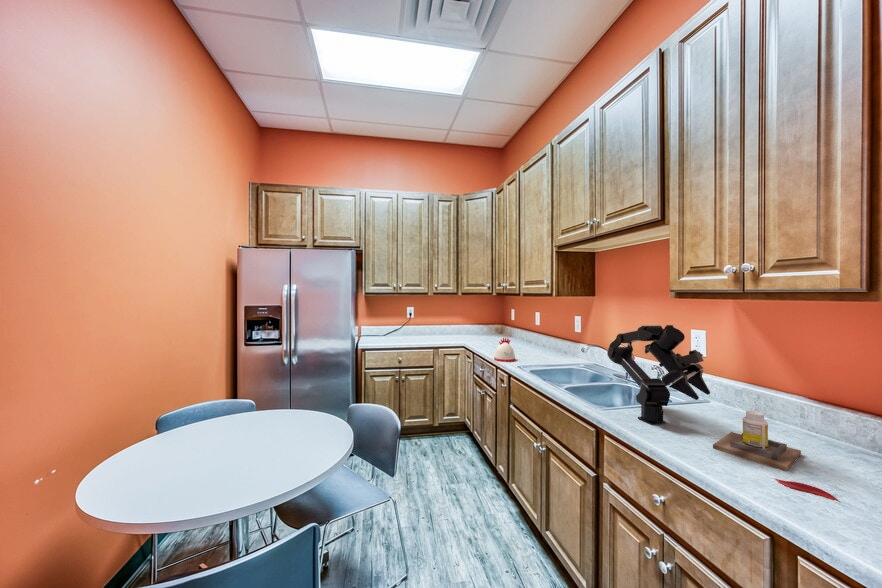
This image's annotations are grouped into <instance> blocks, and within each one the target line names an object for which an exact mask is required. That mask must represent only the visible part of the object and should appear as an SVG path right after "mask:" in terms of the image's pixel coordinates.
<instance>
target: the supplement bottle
mask: <svg viewBox="0 0 882 588" xmlns="http://www.w3.org/2000/svg"><path fill="white" fill-rule="evenodd" d="M742 433H743V444H745V445H748V446H752V447H755V448H759V449H762V450H767V449H768V440H769V423H768V421H767V420H766V419H765V414H764V413H763V412H761V411H756V410H746V411H745V416H743V417H742Z"/></svg>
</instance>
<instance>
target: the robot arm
mask: <svg viewBox="0 0 882 588" xmlns="http://www.w3.org/2000/svg"><path fill="white" fill-rule="evenodd" d="M685 337H686V336H685V334H684V332H682V331H681V330H680V329H678V328H676V327H674V325H673V324H666V325H665V327H664V328H663V326H662V325H660V324H659V325H641V326H639V327H638V328H637V330H633V331H628V332H625V333H623V332H622V333H618V334H617V335H616V338H615V339H614V340H613V341H612V342H610V344H609V345H608V349H607V351H606V352H607V357H608V358H609V360H610V361H611V362H612V363H614V364H617V365H620V366H621V367H622V369H624V371H625V372H626V373H627V374H628V375H629V376H630V377H631V378H632V379H633V381H634V382H635V383H636V385H638V387H639V391H638V393H637V394H636V396H635V399H636V403H638V404H640V405H641V409H640V411H641V413H640V416H637V419H638V420H641V421H642V422H645V423H647V424H649V425H661V424H666V423H667V420H666V421H665V420H664V406H665V407H667V406H668V404H669V401H670V398H671V393H670V390H669V389H668V388H670V389H674V390H675V391H678V392H680V393H682V394H684V395H686V396H687V397H689V398H691V399H693V400H695V401H698V400H699V399H700V397H699V395H698V394H697V392H695V390H694V389H693V387H695V388H696V389H697V390H698V391H701V392H702V393H704V394H706V395H707V396H709V395H710V394H711V391H710V389H709V387H708V386H707V384H706V382H705V379H704V378H703V373H704V367H703V366H702V365H701V364H700V363H702V362H704V358H703V356H704V355H703V353H701V352H700V351H698V350H697V349H694V350H689V351H688V354H687V355H686V354H685V355H682V354H680V353H675V351H674V350H675V349H676V348H677V347H678V346H679V345H681V344H682V342H684V340H685ZM636 342H651V343H649V344H647V345H645V346H644V348H645V349H644V353H645V355H647V354H649V353H651V355H652V356H653V357H654V359H656V360H657V361H658V363H659V364H658V366H659V367H660V368H661V367H663V368H664V369H665V370H666V371H667V373H666V374H665V375H663V376H662V377H661V379H660V378H657V377H655V378H651V377H650V376H649V375H648V373H646V371H644V370H643V369H642V368H641V367H640V365H639V364H637V362H636V360H634V359H633V358H632V356H633V351H634V348H633V345H632V344H633V343H636ZM622 344H627V346H622ZM667 386H668V387H667ZM692 386H693V387H692Z"/></svg>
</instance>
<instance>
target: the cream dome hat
mask: <svg viewBox="0 0 882 588" xmlns="http://www.w3.org/2000/svg"><path fill="white" fill-rule="evenodd" d="M510 342H511V339H510V338H509V337H503V338H502V339H500V340H499V341H498V343H499V345H497V347H496V348H495V352H494V354H493V355H494V357H493V361H496V362H501V363H510V362H511V363H512V362H515V361H516V355H515V351H514V348H513V347H512V346H511V345H510Z"/></svg>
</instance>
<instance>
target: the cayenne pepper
mask: <svg viewBox="0 0 882 588" xmlns="http://www.w3.org/2000/svg"><path fill="white" fill-rule="evenodd" d="M773 479H774V480H775V481H777V483H778V484H780V485H781V484H782V485H781V486H783V485H784V486H783V487H786V488H788V487H789V488H788V489H792V490H796V491H800V492H802V493H803V492H804V493H809V494H812V495H815V496H819V497H823V498H825V499H827V500H828V499H829V500H832V501H836V502H839V503H841V501H840V500H839V499H838V498H837V497H836V496H834V495H832V494H831V493H830V492H828V491H826V490H824V489H821V488H819V487H816V486H812V485H810V484H806V483H803V482H798V481H791V480H783V479H778V478H773ZM841 504H842V503H841Z"/></svg>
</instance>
